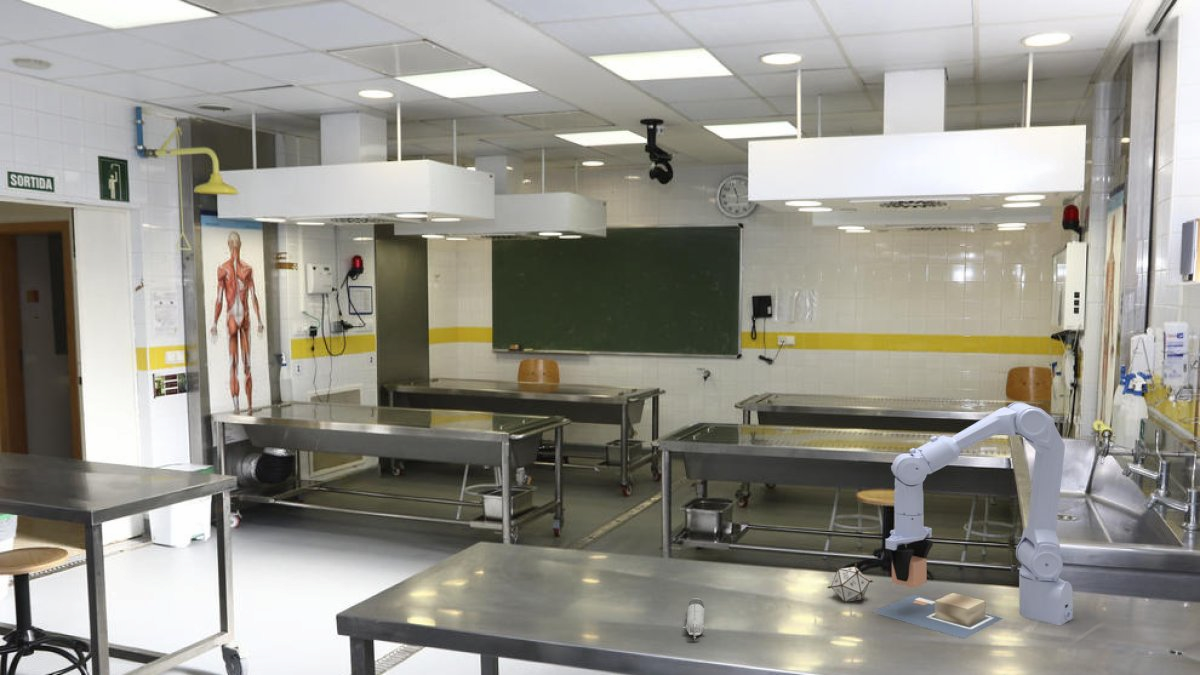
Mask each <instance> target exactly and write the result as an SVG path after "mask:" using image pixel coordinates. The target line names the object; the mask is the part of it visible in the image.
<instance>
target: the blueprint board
mask: <svg viewBox="0 0 1200 675" xmlns="http://www.w3.org/2000/svg"><path fill="white" fill-rule="evenodd" d="M935 600H936V599H931V598H927V597H924V596H919V595H916V594H912V595H909V596H907V597H905V598H904V597H903V598H902V599H900V600H897V601H895V602H893V603H891V604H888V605H886V606H884V607H881V608H879V609H875V610H874V611H872V612H871V613H874V614H877V615H880V616H884V617H886V618H890V619H894V620H898V621H901V622H904V623H908V624H911V625H914V626H918V627H922V628H925V629H929V630H932V631H935V632H939V633H943V634H946V635H949V636H954V637H955V638H959V639H966V638H968V637H970V636H971V635H974V634H976V633H977V632H980V631H981V630H983V629H985V628H987V627H989V626H991V625H994V624H995V623H997V622H999V621H1000V620H1003V619H1004V618H1003V617H1001V616H997V615H993V614H989V613H986V612H985V618H984V619H982V620H980V621H978V622H976V623H974V624H972V625H970V626H964V625H961V624H957V623H953V622H950V621H946V620H943V619H939V618H935Z"/></svg>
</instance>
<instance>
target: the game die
mask: <svg viewBox="0 0 1200 675" xmlns="http://www.w3.org/2000/svg"><path fill="white" fill-rule="evenodd" d="M835 569H837V571H836V573H835V576H834V578H833V581H832V583H831V585H828V586H827V587H826V588H827V589H832V590H833V591H834V592H835V594H836V595H838V596H839V598H840V599H841V600H842V601H843V603H847V602H854V601H855V602H856V601H861V600H862V601H863V600H864V596H865V594H866V592H867V590H868V587H869V585H870V583H873V582H874V580H873V579H870V580H869V579H868V578H867V577H866V576H865V575H864V574H863V573H862V572H861V571H860V569H858V564H857V563H855V564H854V566H851V567H849V566H848V567H841V568H839V566H838V565H835Z"/></svg>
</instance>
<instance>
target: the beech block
mask: <svg viewBox="0 0 1200 675" xmlns="http://www.w3.org/2000/svg"><path fill="white" fill-rule="evenodd" d="M934 600H935V618H939V619H943V620H946V621H950V622H953V623H957V624H961V625H964V626H970V625H972V624H974V623H976V622H978V621H980V620H982V619H984V618H985V613H986V600H983V599H978V598H976V597H971V596H967V595H962V594H959V593H954V592H952V593H949V594H947V595H945V596H942V597H941V598H937V599H934Z"/></svg>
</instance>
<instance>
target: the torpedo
mask: <svg viewBox="0 0 1200 675" xmlns="http://www.w3.org/2000/svg"><path fill="white" fill-rule="evenodd" d="M687 606H688V608H687V612H686V624H685V626H683V627H682V628H683V629H686V631H687V633H688V635H690V636H693V639H694V640H693V641H696V637H697V636H700V635H702V634H703V632H704V630H707V629H708V628H707V627H706V626H705V623H704V622H705V604H704V600H702V599H701V598H695V597H694V598H692V599H690V600H689V601H688V605H687Z"/></svg>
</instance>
